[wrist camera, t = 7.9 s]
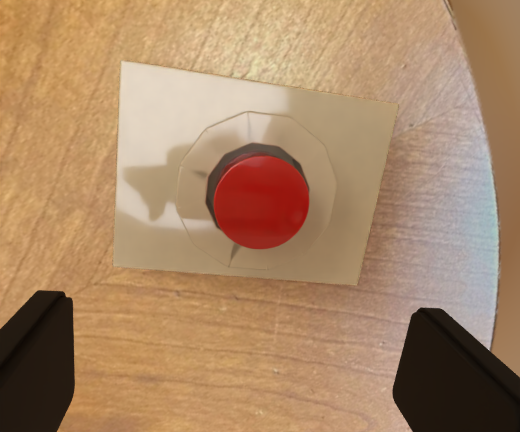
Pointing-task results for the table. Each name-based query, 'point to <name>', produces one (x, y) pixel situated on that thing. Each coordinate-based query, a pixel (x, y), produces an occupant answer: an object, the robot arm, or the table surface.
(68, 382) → the robot arm
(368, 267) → the table surface
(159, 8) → the table surface
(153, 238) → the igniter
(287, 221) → the button
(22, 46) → the table surface
